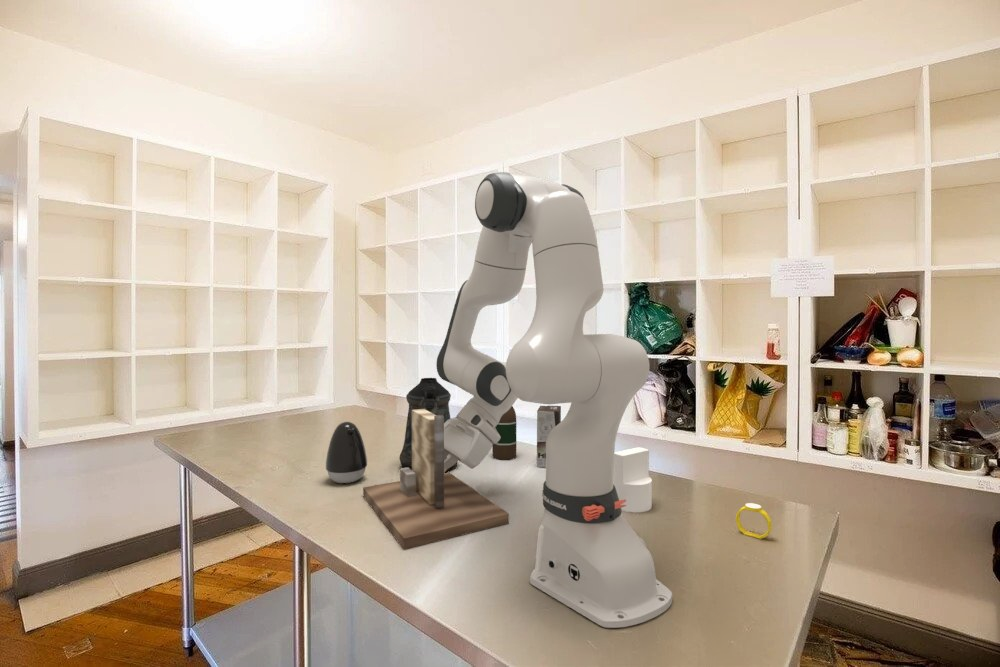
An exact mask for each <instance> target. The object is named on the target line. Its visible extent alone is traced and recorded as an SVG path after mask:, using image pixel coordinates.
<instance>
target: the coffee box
mask: <svg viewBox="0 0 1000 667" xmlns="http://www.w3.org/2000/svg"><path fill="white" fill-rule="evenodd" d="M536 412H537V414H536V467H537V468H546V440H547V437H548V435H549V433H550V431H551V430H552V429H553V428H554V427H555V426H557V425H558V424H559V423H560V422H561V421H562V417H561V416H562V406H561V405H540V406H539V407H538V409H537V410H536Z"/></svg>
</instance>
